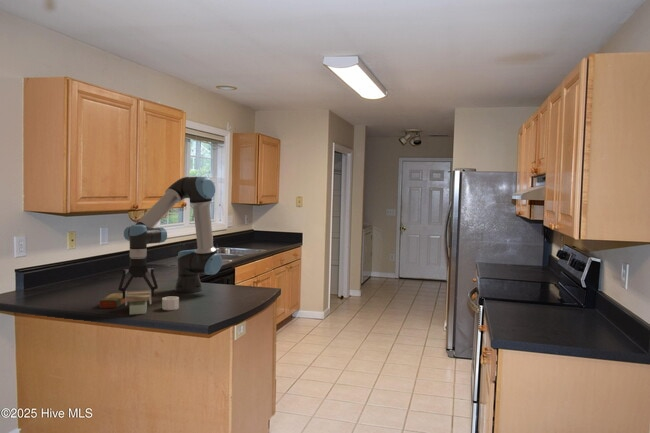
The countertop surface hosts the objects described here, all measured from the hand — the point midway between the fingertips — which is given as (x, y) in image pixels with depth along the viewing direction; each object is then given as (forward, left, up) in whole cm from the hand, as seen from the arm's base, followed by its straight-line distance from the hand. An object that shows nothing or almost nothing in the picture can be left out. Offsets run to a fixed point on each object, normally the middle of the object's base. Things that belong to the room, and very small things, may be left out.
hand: (138, 304), depth 234 cm
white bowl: (0, +15, -3) cm, 15 cm away
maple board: (0, 0, +3) cm, 3 cm away
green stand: (0, 0, -3) cm, 3 cm away
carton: (-17, -12, -3) cm, 21 cm away
